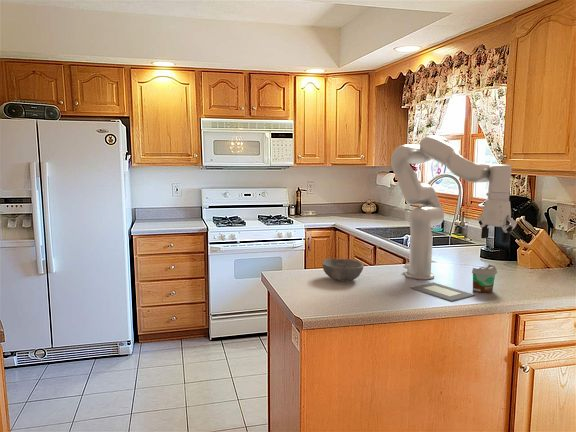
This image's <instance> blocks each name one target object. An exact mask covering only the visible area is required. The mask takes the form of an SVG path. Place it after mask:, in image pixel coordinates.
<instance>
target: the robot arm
mask: <svg viewBox="0 0 576 432" xmlns="http://www.w3.org/2000/svg"><path fill="white" fill-rule="evenodd" d="M432 160H434V161H436V162H438V163H439V164H441V165H443V166H445V167H446V169H448V170H449V172H451V174H453V175H455V176H457V177H459V178H461V179H462V180H464V181H466V182H468V183H471V184H472V183H475V184H476V183H488V189H487V190H488V191H487V192H486V194H485V195H486V196H487V198H486V199H485V201H484V204H483V208H482V213H481V214H479V215H478V216H477V220H478V224H479V226H480V228H481V235H480V236H481V237H480V238H481V239H487V238H489V233H490V231H489V230H490V228H489V226H490V227H495V228H496V227H498V228H501V229H502V231H503V232H502V235H501V242H502V244H507V243H510V236H511V233H512V232H513V230H514V229H516V226H517V224H518V223H517V221H516V220H514V219H513V218H512V208H511V201H510V193H511V181H512V166H511V165H509V164H492V163H487V162H473V161H471V160H469V159H467V158H465V157H463V156H462V155H460V149H459V148H457V146H453V144H450V142H449V140H448V139H447V138H446V137H443V136H440V135H439V136H437V135H427V136H425V137H423V138H422V139H421V140H420V143H419V144H402V145H398V146H397V147H396V148H395V149H394V150H393V151H392V154H391V158H390V165H391V169H392V171H393V174H394V176H395V177H396V179H397V183H398V186H399V187H400V190H401V193H402V196H403V198H404V200H405V202H406V203H407V204H408V205H410V206H418V207H414V208H413V209H412V210H411V212H410V213H409V219H408V221H409V222H408V223H409V228H410V229H409V230H410V235H409V236H410V237H409V238H410V239H409V241H410V243H409V245H410V246H409V260H408V261H409V262H408V263H405V264H404V265H403V268H404V269H405V270H406V271H405V272H404V274H405V275H404V276H406V277H407V278H410V279H414V280H421V281H422V280H423V281H425V280H427V281H428V280H432V279H435V274H434V273H433V272H432V261H433V260H432V257H433V256H432V255H433V232H432V229H431V227H436V226H439V225H440V224H442V223H443V222H444V219H445V213H444V210H443V206H442V204H441V202H440V199H439V196H438V194H437V192H436V190H435V189H434V187H432V186H431V185H430V184H429V183H421V182H420V180H419V179H418V175H417V173H416V172H415V170H414V169H413V168H412V167H411V164H413V165H415V164H417V165H418V164H424V163H427V162H429V161H432Z"/></svg>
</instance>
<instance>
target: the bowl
mask: <svg viewBox="0 0 576 432" xmlns="http://www.w3.org/2000/svg"><path fill="white" fill-rule="evenodd" d="M364 266H365V265H364V263H363V262H361V261H359V260H355V259H351V258H325V259H324V260H323V261H322V269H323V272H324V273H325V274H326V275H327V276H328V277H329V278H330V279H333V280H336V281H337V280H338V281H343V282H351V281H354V280H355V279H357V278H359V277H360V275H361V273H362V272H363V270H364Z"/></svg>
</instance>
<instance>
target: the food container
mask: <svg viewBox="0 0 576 432" xmlns="http://www.w3.org/2000/svg"><path fill="white" fill-rule="evenodd" d="M497 269H498V268H497V267H496V266H495V265H493V264H490V263H489V264H488V266H485V267H482V266H481V267H479V268H475V267H473V268H472V271H471V273H472V293H476V294H482V295H484V294H487V295H488V294H492V293H493V289H494V283H495V278H496V275H497V274H498V270H497Z"/></svg>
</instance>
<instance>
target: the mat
mask: <svg viewBox="0 0 576 432" xmlns="http://www.w3.org/2000/svg"><path fill="white" fill-rule="evenodd" d="M410 289H412V290H415V291H417V292H420V293H424V294H427V295H429V296H432V297H436V298H439V299H442V300H443V301H444V300H445V301H449V302H451V303H452V302H456V301H460V300H464V299H468V298H471V297H475V294H474V293H470V292H467V291H465V290H464V291H463V290H460V289H456V288H453V287H449V286H447V285H443V284H440V283H436V282H429V283H424V284H419V285H415V286H410Z"/></svg>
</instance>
